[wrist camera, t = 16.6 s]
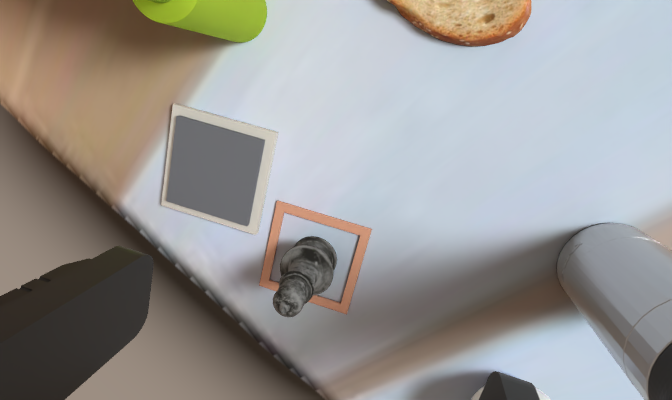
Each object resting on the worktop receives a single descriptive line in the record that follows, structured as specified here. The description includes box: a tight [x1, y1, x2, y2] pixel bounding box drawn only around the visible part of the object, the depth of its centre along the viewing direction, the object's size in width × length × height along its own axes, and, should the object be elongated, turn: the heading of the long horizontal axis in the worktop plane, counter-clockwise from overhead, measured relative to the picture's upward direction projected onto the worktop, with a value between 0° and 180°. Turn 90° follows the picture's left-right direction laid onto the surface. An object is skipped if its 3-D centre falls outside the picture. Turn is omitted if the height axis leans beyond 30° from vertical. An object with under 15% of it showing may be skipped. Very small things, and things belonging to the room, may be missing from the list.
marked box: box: [259, 201, 372, 314], centre depth 46 cm, size 11×11×1 cm
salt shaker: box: [273, 236, 337, 317], centre depth 41 cm, size 6×6×12 cm
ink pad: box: [161, 104, 278, 235], centre depth 45 cm, size 12×12×2 cm
